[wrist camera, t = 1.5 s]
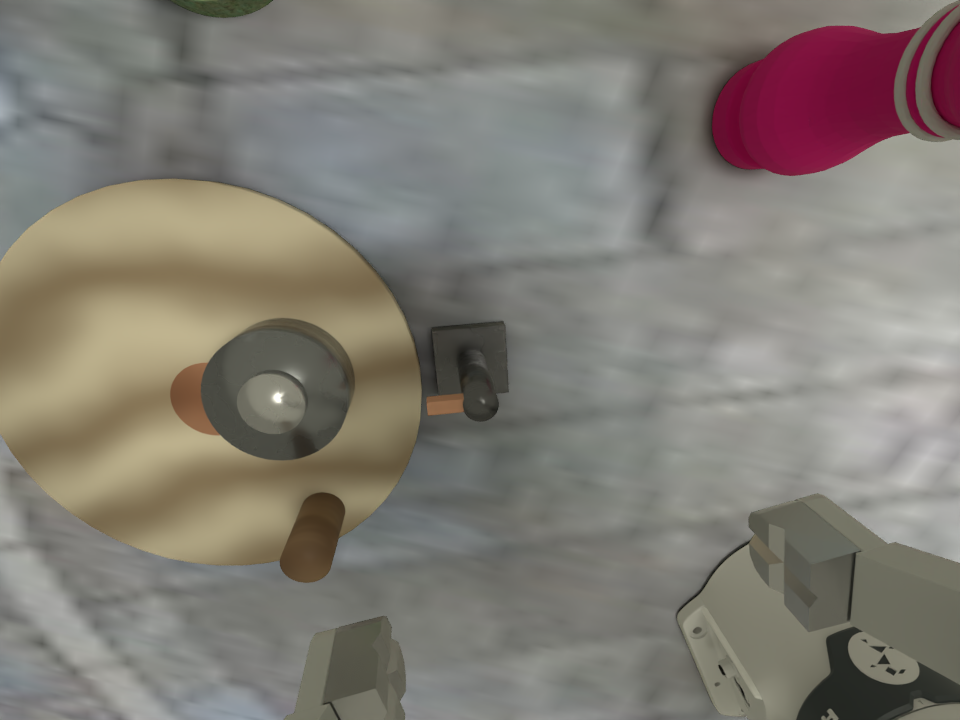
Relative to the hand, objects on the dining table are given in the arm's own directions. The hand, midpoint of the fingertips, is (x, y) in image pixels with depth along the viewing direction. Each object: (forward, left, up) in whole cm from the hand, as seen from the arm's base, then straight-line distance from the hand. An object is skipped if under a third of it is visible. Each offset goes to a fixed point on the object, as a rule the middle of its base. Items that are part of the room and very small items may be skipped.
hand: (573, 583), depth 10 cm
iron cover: (0, +12, -21) cm, 24 cm away
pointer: (-3, +1, -24) cm, 24 cm away
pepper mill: (+8, -21, -25) cm, 33 cm away
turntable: (0, +17, -22) cm, 28 cm away
